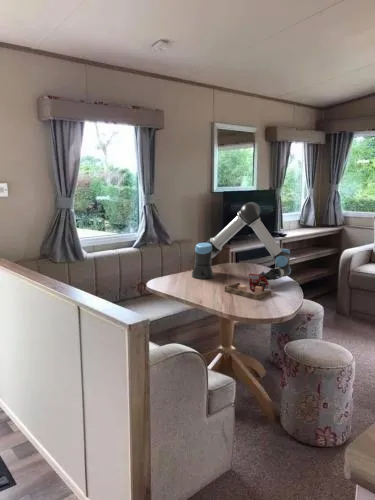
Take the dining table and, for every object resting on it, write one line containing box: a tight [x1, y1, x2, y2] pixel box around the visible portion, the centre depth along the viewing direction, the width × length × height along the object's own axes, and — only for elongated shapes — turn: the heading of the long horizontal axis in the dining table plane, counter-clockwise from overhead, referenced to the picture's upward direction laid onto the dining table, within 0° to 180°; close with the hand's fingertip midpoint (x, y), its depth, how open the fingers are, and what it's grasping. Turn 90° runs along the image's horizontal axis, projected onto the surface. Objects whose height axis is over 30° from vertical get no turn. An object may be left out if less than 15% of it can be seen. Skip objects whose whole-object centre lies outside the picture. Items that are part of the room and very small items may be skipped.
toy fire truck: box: [248, 273, 269, 293], centre depth 260 cm, size 7×12×10 cm, turn 68°
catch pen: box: [224, 282, 272, 301], centre depth 255 cm, size 24×15×3 cm, turn 49°
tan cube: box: [254, 286, 264, 294], centre depth 256 cm, size 4×4×4 cm
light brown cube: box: [237, 284, 248, 292], centre depth 257 cm, size 4×4×4 cm
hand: (257, 279), depth 262 cm, fingers closed
